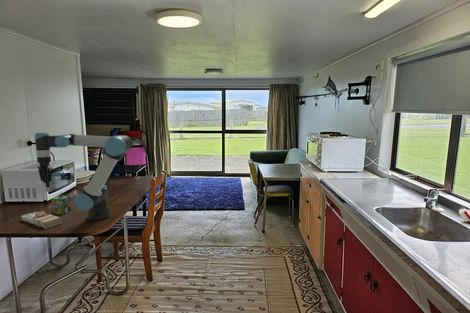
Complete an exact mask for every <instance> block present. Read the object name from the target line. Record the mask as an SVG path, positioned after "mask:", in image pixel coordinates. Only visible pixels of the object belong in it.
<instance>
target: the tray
mask: <svg viewBox="0 0 470 313" xmlns="http://www.w3.org/2000/svg"><path fill="white" fill-rule="evenodd" d="M37 212H38V211H34V212H30V213H27V214H23V215H21V221H24V222H26V223H28V222H29V224H31V225H34V219H31V218H29V216H28V215H31V214H34V213H37Z"/></svg>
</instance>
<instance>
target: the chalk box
mask: <svg viewBox="0 0 470 313" xmlns="http://www.w3.org/2000/svg"><path fill="white" fill-rule="evenodd" d="M50 202H51V215H65V214H67V213H69V212H71V211H72V209H71V206H72V205H71V196H70V195H64V192H61V193H59V195H56V196H55V197H53V198H52V199H50Z"/></svg>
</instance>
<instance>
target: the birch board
mask: <svg viewBox="0 0 470 313" xmlns="http://www.w3.org/2000/svg"><path fill="white" fill-rule="evenodd" d="M62 221H63V220H62V217H60V216H57V215H55V214H51V213H49V214H46V215H45V216H41V217H38V218H34V224H33V225H34V226H37V227H40V228H43V229H46V230H47V229H50V228H52V227H55V226H59V225H62V224H63V222H62Z"/></svg>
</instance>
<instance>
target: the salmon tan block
mask: <svg viewBox="0 0 470 313" xmlns="http://www.w3.org/2000/svg"><path fill="white" fill-rule="evenodd" d="M36 212H37V213H36V214H35V216H34V218H38V217H41V216H45V215H47V213H46V212H45V210H41V211H36Z"/></svg>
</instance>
